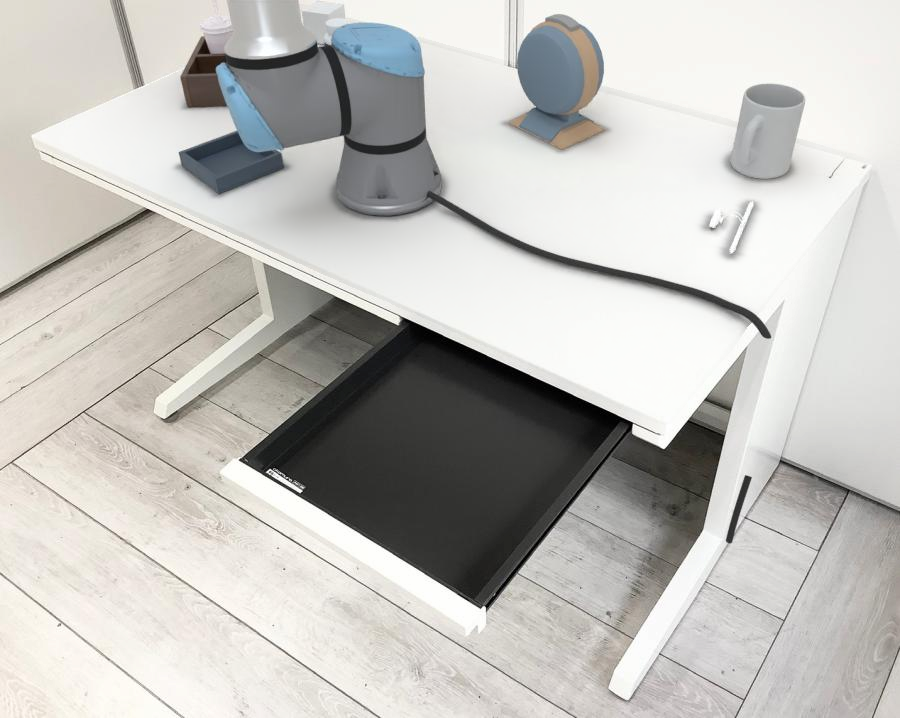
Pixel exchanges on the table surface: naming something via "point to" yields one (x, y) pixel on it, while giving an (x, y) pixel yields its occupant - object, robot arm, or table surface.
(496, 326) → the table surface
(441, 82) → the table surface
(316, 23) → the white cube
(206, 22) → the smoothie
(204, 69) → the rack
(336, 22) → the pill bottle
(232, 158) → the tray
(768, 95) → the mug
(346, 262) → the table surface
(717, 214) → the picture light
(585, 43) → the alarm clock
